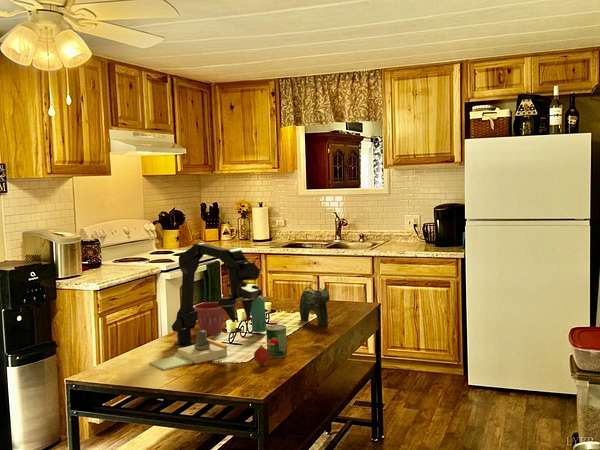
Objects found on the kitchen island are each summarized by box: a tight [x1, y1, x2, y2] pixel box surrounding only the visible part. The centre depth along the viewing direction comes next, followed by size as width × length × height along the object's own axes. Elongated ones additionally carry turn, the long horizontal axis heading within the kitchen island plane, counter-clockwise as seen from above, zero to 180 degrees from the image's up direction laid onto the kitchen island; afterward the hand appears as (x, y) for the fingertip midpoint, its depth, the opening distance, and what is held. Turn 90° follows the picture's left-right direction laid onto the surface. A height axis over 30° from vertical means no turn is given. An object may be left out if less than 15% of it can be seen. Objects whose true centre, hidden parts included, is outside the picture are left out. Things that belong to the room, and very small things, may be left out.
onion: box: [253, 344, 271, 367], centre depth 243 cm, size 6×6×8 cm
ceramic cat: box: [299, 281, 331, 327], centre depth 308 cm, size 20×6×20 cm, turn 34°
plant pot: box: [193, 301, 227, 336], centre depth 296 cm, size 14×14×13 cm
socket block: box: [177, 344, 228, 364], centre depth 259 cm, size 14×14×5 cm
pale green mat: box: [148, 355, 193, 371], centre depth 251 cm, size 12×12×1 cm
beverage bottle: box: [250, 288, 267, 334], centre depth 290 cm, size 6×7×20 cm
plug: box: [193, 329, 210, 351], centre depth 259 cm, size 6×6×10 cm
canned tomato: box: [265, 324, 288, 358], centre depth 257 cm, size 8×8×11 cm
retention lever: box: [207, 338, 228, 349], centre depth 259 cm, size 20×2×1 cm, turn 39°
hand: (241, 319), depth 258 cm, fingers open, 9 cm apart
